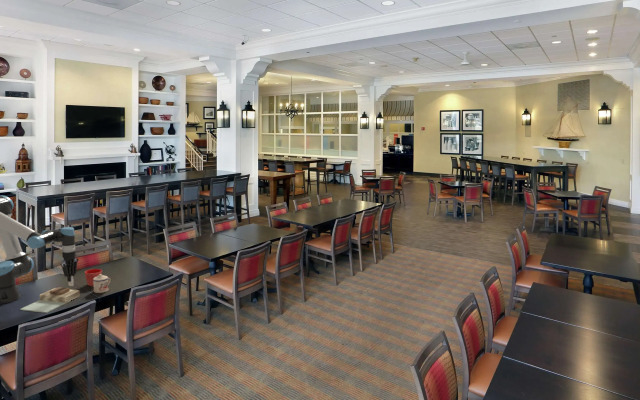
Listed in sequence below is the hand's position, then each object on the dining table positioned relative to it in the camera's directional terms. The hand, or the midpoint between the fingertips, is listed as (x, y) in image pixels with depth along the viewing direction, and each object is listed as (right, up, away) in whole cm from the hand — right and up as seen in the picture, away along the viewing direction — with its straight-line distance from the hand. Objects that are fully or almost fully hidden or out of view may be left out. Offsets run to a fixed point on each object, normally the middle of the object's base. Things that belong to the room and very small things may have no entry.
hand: (71, 285), depth 269 cm
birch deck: (-2, -7, -9) cm, 11 cm away
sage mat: (-4, -8, -21) cm, 23 cm away
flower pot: (+6, -3, +17) cm, 18 cm away
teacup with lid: (+17, -5, +7) cm, 19 cm away
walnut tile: (-2, -3, -9) cm, 10 cm away
